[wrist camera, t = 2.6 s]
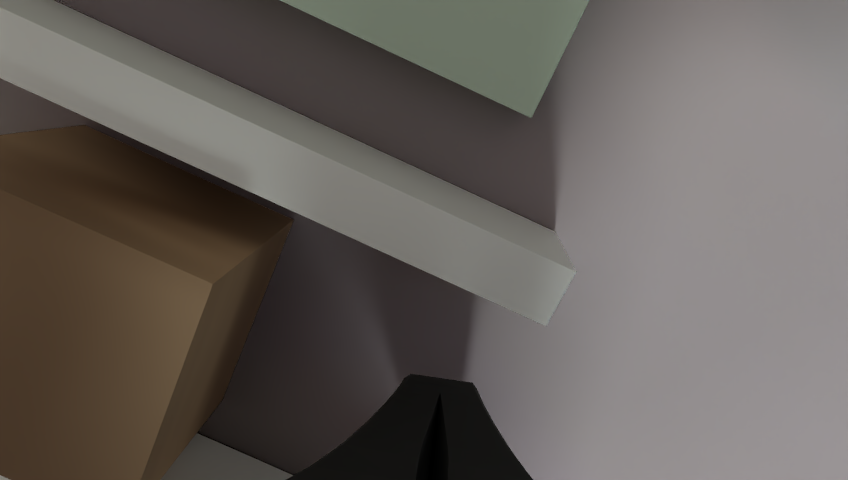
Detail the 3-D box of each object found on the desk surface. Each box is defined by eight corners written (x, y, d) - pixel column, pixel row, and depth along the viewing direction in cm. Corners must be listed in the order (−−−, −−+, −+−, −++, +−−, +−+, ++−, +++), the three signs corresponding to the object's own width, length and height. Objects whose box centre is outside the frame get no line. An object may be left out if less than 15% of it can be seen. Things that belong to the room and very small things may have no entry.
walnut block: (295, 218, 12) (212, 284, 8) (223, 398, 13) (123, 528, 9) (87, 124, 12) (-96, 146, 8) (34, 314, 13) (-147, 412, 9)
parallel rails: (555, 231, 12) (576, 272, 9) (383, 554, 14) (364, 654, 11) (-28, -38, 11) (-165, -69, 9) (-107, 341, 13) (-234, 399, 11)
